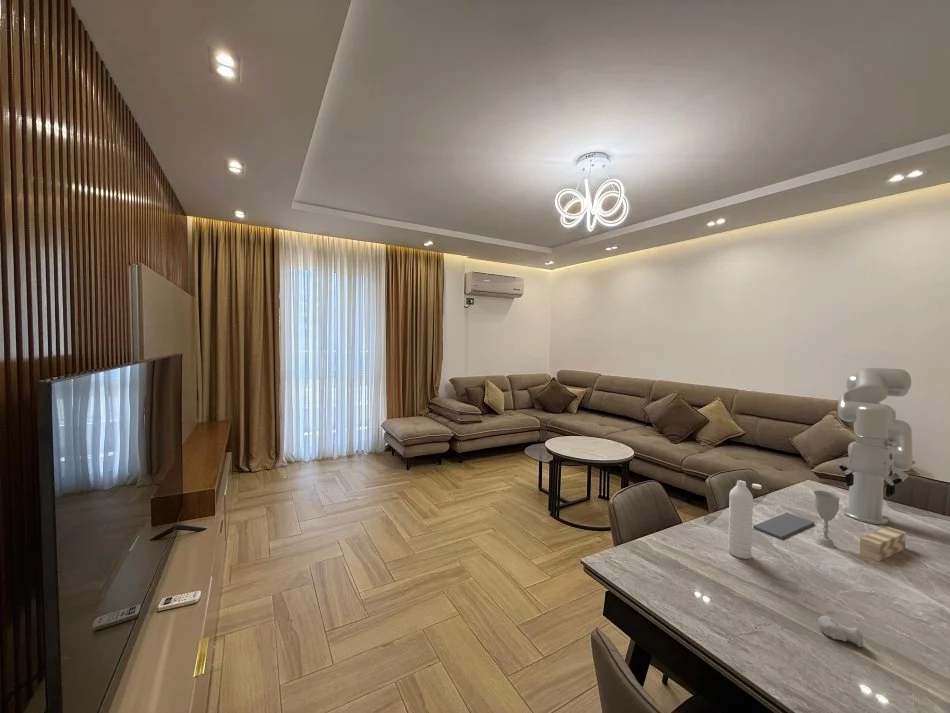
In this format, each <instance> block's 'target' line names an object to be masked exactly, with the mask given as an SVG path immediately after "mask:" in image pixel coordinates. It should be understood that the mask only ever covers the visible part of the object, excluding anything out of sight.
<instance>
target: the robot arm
mask: <svg viewBox="0 0 950 713" xmlns="http://www.w3.org/2000/svg"><path fill="white" fill-rule="evenodd" d="M911 386H912V377H911V375H910V373H909V372H908V371H907V370H905V369H901V368H886V367H885V368H884V367H883V368H879V367H868V368H863V369H860V370H859V371H858V372H857V373H856V374H853V375H850V376H848V377H847V379H846V388H847V390H846V391H845V392H843V393H842V394H841V395H840V397H839V398H838V405H837V415H838V417H839V418H840V420H842V421H844V422H848V423H853V431H854V434H855V436H854V437H855V441H852V442H850V443H849V444H848V446H847V452H848V453H847V454H848V457H845V458H840V459H838V458H837V459H836V460H835V462H836V463H837V466H838V467H839V469H840V470H841V471H842V472H843V474H844V475H845V477H844V478H845V480H844V481H845V482H844V483H846V487H849V489H848V507H846V508H843V510H842V513H843V514H844V515H846V517H849V518H852V519H854V520H856V521H860V522H863V523H868V524H873V525H886V524H888V523H889V522H888V519H887V518H886V517H885V516H883V505H884V504H883V503H884V481H886V482H887V484H886V485H885V496H887V498H889V497H892V496H893V495H895V494H896V485H898V484H899V483H903V482H904V481H905V480H906V479H907V478H909V474H907V473H906V471H909V470H911V468H912V466H913V433H912V428H911V427H912V426H911V425H910V424H909V423H908V422H907V421H905V420H901V419H897V418H896V417H897V413H896V410H895V409H894V408H893V407H892V406H891V405H888V404H882V403H880V402H883V401H885V399H887V397H898V398H899V397H904V396H906V395H907V394H908V393H909V390H910V389H911ZM844 463H848V465H847V466H848V467H847V466H846V465H845V464H844ZM904 471H905V472H904ZM894 474H896V475H898V477H897V478H894V477H893V476H894Z"/></svg>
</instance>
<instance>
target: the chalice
mask: <svg viewBox="0 0 950 713" xmlns="http://www.w3.org/2000/svg"><path fill="white" fill-rule="evenodd" d="M813 493H814V495H815V498H814V500H815V501H814V503H815V504H814V506H815V509H816V512H817V513H818V515H819V517H820V518H821V519H822V520H823V521H824V522H823V523H822V526H823V529H822V531H823V535H819V536H818V538H817V539H816V540H815V543H816V544H818V545H820V546H822V547H825V548H831V549H833V548H836V546H835V543H834V542H833V539H832V538H831V537H829V535H828V533H830V531H829V527H830V525H829V521H833V519H835V517H836V515H837V514H838V512H839V510H840V499H841V498H842V496H841V495H839V494H837V493H835V492H830V491H827V490H826V491H825V490H813Z"/></svg>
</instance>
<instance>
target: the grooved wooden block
mask: <svg viewBox="0 0 950 713" xmlns="http://www.w3.org/2000/svg"><path fill="white" fill-rule="evenodd" d="M906 535H907V534H906V532H905V531H902V530H900V529H897V528H892V527H890V526H885V527H883V528H880V529H878V530H876V531H874V532H871V533H868V534H865V535H864V536H862V537H860V542H859V555H860V556H863V557H866V558H868V559H871V560H873V561H876V562H880V561H882V560H885V559H887V558H888V557H891V556H893V555H895V554H897V553H899V552H901V551H903V550H905V549H906V541H907V540H906Z"/></svg>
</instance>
